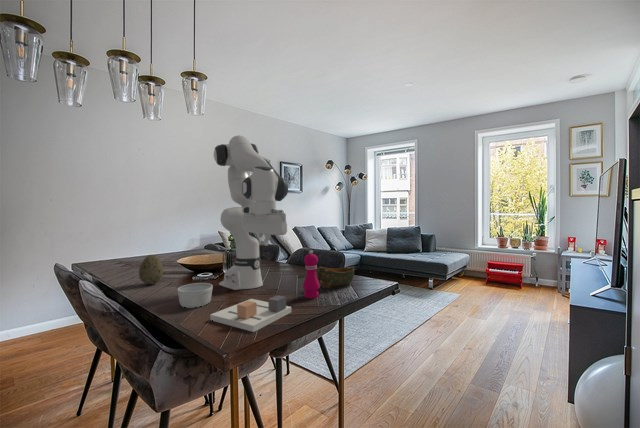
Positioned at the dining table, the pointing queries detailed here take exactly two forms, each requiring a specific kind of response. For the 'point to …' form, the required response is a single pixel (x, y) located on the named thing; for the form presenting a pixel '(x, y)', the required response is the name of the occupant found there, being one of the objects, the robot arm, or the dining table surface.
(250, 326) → the fader panel
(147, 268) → the decorative egg
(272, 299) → the block
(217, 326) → the dining table surface
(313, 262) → the pepper mill
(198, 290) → the ramekin
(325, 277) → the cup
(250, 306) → the block
